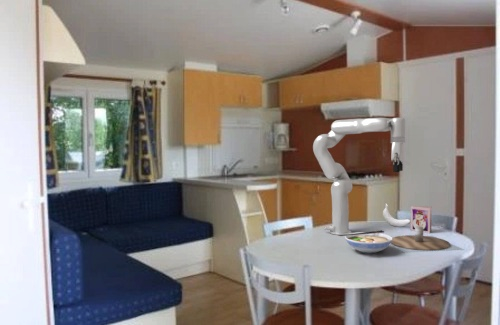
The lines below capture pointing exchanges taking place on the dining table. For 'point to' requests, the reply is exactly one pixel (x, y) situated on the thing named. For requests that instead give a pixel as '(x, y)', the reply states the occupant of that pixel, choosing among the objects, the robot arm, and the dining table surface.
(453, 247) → the mat
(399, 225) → the banana
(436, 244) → the lid
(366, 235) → the ramen bowl
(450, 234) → the dining table surface
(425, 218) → the greeting card
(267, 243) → the dining table surface
